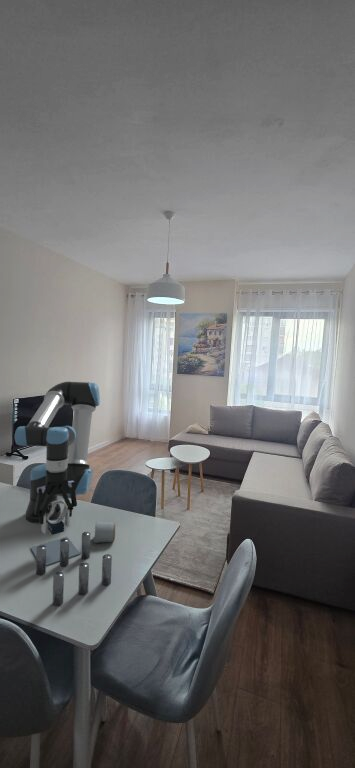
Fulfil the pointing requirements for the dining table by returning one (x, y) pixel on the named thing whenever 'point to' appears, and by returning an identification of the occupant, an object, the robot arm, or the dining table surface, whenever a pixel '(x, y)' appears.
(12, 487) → the dining table surface
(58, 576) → the post field
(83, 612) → the dining table surface
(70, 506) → the robot arm
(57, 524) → the watch
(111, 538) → the ceramic mug
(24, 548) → the dining table surface
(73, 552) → the mat
